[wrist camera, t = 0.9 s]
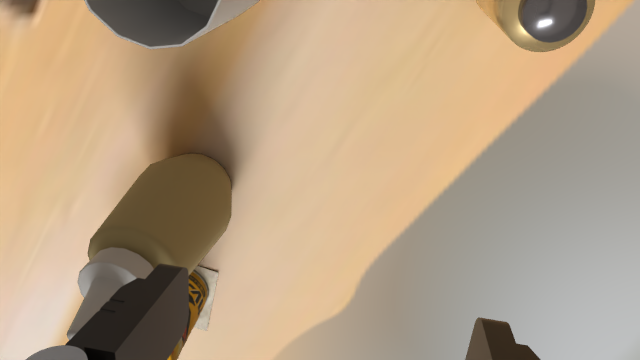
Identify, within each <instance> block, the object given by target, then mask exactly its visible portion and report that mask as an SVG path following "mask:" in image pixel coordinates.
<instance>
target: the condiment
mask: <svg viewBox="0 0 640 360" xmlns="http://www.w3.org/2000/svg"><path fill="white" fill-rule="evenodd" d="M217 278H218V273H217V272H215V271H211V270H208V269H206V268H202V267H200V266H196V268H195V269H194V270H193V271H192V273H191V274H190V275H189V317H188V323H187V326H186V329H185V332H184V334H183V336H182V337H181V339H180V341H179V342H178V344H177V345H176V347H175V348H174V350H173V352H172V353H171V355H170V356H169V358H168V359H167V360H177V359H178V356H179V354H180V352H181V350H182V348H183V347H184V344H185V342H186V341H187V339H188V336H189V335H190V333H191V330H192V329H193V327H196V328H198V329H201V330H204V331H207V328H208V323H209V317H210V312H211V307H212V303H213V298H214V293H215V288H216V282H217Z"/></svg>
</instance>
